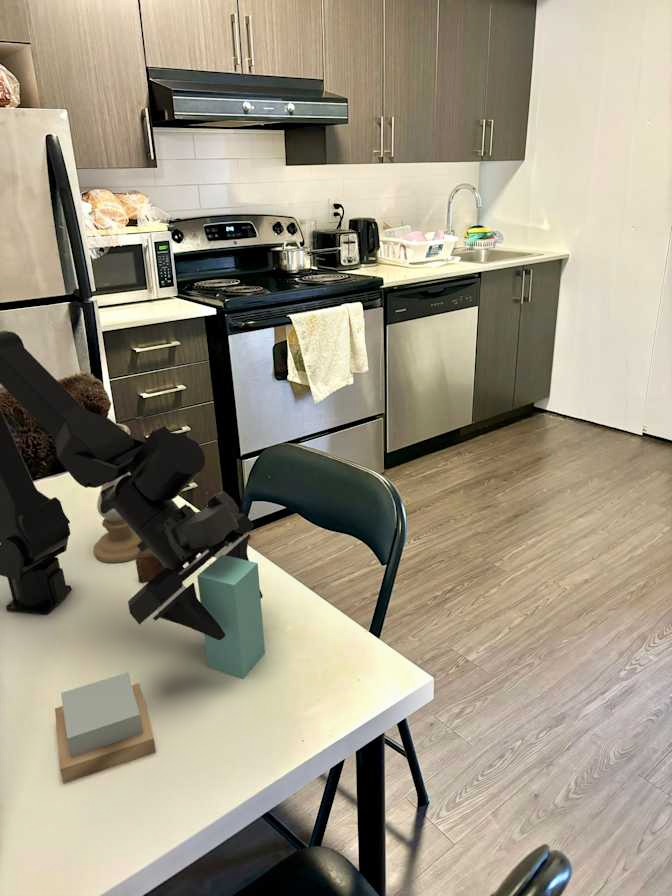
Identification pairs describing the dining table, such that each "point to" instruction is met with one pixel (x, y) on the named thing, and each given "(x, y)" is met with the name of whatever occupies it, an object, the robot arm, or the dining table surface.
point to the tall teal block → (233, 614)
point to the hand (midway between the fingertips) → (242, 617)
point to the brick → (147, 565)
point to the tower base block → (107, 754)
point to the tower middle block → (100, 714)
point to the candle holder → (116, 532)
